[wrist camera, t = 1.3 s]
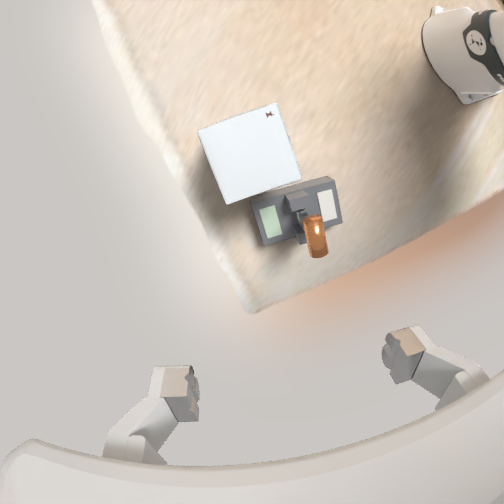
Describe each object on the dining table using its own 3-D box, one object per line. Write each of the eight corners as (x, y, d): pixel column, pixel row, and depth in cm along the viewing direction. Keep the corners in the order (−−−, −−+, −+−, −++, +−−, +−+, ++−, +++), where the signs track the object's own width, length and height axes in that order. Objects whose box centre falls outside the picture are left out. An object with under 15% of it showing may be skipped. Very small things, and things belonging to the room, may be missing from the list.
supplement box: (207, 128, 32) (194, 128, 21) (263, 109, 31) (279, 99, 20) (227, 180, 35) (224, 207, 24) (281, 162, 35) (305, 180, 23)
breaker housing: (327, 175, 36) (342, 185, 30) (335, 215, 38) (350, 230, 33) (249, 197, 36) (252, 210, 31) (262, 237, 39) (266, 255, 34)
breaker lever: (305, 198, 33) (324, 218, 26) (311, 228, 35) (330, 254, 28) (289, 203, 33) (304, 224, 26) (297, 232, 35) (312, 259, 28)
